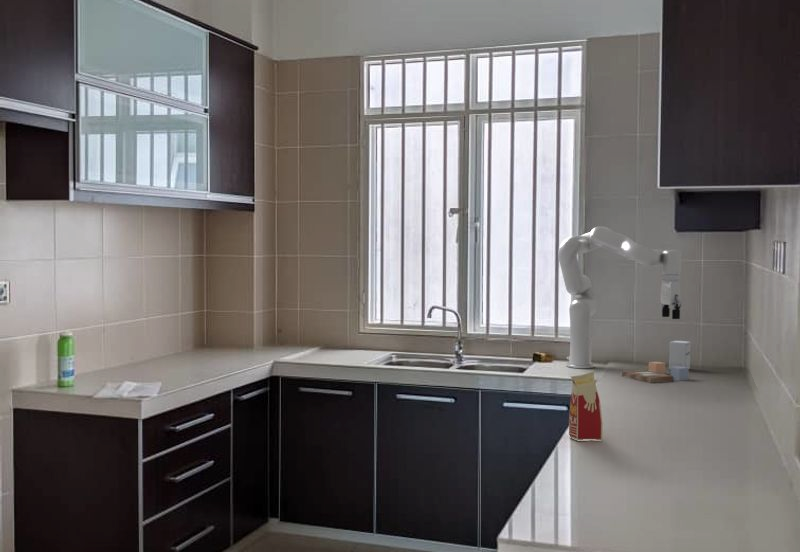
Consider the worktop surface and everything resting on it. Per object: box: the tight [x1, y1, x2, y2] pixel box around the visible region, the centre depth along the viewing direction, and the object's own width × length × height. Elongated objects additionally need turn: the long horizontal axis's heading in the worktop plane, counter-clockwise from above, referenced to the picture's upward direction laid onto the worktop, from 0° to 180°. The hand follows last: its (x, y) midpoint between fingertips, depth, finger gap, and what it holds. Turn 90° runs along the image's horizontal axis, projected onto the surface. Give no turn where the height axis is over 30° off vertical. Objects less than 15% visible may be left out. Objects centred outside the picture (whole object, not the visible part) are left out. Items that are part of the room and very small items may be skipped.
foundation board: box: [621, 369, 674, 384], centre depth 343 cm, size 18×12×2 cm, turn 23°
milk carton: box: [568, 370, 604, 441], centre depth 240 cm, size 9×9×20 cm
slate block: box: [670, 366, 690, 381], centre depth 342 cm, size 5×5×5 cm
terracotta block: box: [647, 361, 666, 375], centre depth 355 cm, size 5×5×5 cm
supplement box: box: [668, 340, 691, 370], centre depth 367 cm, size 7×7×13 cm
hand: (670, 317), depth 352 cm, fingers open, 9 cm apart
